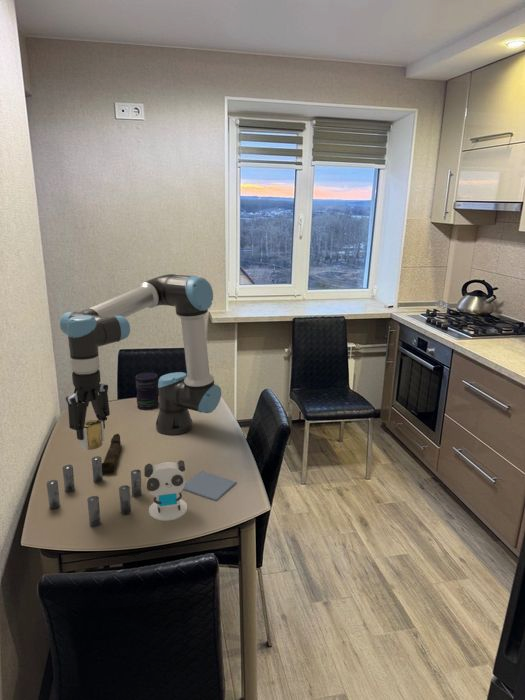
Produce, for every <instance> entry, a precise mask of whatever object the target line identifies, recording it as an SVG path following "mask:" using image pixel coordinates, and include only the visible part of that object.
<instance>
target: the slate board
mask: <svg viewBox="0 0 525 700" xmlns="http://www.w3.org/2000/svg"><path fill="white" fill-rule="evenodd" d="M236 484H237V481H235V480H233V479H230V478H226V477H223V476H220V475H216V474H213V473H211V472H207V471H204V470H200V471H199V472H198V473H196V474H195V475H194V476H193V477H191V478H190V479H189V480H187V481H185V485H184V488H183V489H182V491H185V492H189V493H191V494H195V495H196V496H197V495H198V496H200V497H203V498H206V499H209V500H212V501H215V502H217V501H218V500H219V499H221V497H223V496H224V495H225V494H226V493H227V492H228V491H229V490H230V489H232V488H233V487H234V486H235V485H236ZM233 485H234V486H233ZM232 486H233V487H232ZM223 494H224V495H223Z"/></svg>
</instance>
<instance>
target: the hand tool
mask: <svg viewBox="0 0 525 700" xmlns="http://www.w3.org/2000/svg"><path fill="white" fill-rule="evenodd" d="M109 445H110V446H109V448H108V450H107V452H106V454H105V457H104V460H103V462H102V473H103V475H111V474H113V473H115V469H116V464H117V461H118V457H119V455H120V452H121V448H122V445H121V436H120V434H119V433H116V434H114V435H113V436H112V438H111V439H110V444H109Z"/></svg>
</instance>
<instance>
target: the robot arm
mask: <svg viewBox="0 0 525 700" xmlns="http://www.w3.org/2000/svg"><path fill="white" fill-rule="evenodd" d="M212 301H214V292H213V288H212V285H211V283H210V282H209V281H208V280H207V279H206V278H205V277H200V276H196V275H183V274H175V273H174V274H170V273H169V274H164V275H163V274H162V275H160V276H157V277H154V278H152V279H149V280H146V281H143V282H141V283H140V284H139V285H138V287H137V288H134V289H132V290H129V291H127V292H125V293H122V294H119V295H117V296H115V297H113V298H110V299H108V300H106V301H104V302H101V303H98V304H96V305H94V306H91V307H89V308H87V309H84V310H82V311H78V312H77V311H68V312H65V313H63V315H62V316H61V318H60V319H59V326H60V330H61V332H63V334H65V335H66V336H67V338H68V348H69V356H70V366H71V367H70V369H71V372H72V373H71V377H72V378H71V379H72V385H73V387H74V391H73V394H72V395H70V396H69V395H68V396H66V397H65V401H66V403H67V407H68V410H67V411H68V423H69V425H68V426H69V429H71V430H73V431H76V439H77V440H78V443H79V449H82V450H84V451H89V450H88V439H87V429H86V428H84V425H85V421H86V416H87V411H88V410H87V409H88V407H89V406H90V405H89V404H90V403H91V405H92V408H93V411H94V414H95V417H96V419H95V420H98V421H100V422H101V434H102V443H103V442H105V440H106V439H105V428H106V424H105V421H107V420H108V417H109V416H110V414H111V413H110V404H109V394H108V390H109V385H108V384H104V383H101V371H100V369H101V368H100V358H99V347H102V346H106V345H109V344H110V345H111V344H113V343H114V344H115V343H118V342H120V341H123V340H126V339H127V338H128V337H129V336H130V334H131V325H130V322H129V321H128V319H127V317H129V316H131V315H133V314H135V313H138V312H140V311H142V310H145V309H146V308H148V309H152V308H156V307H158V306H170V307H174V308H175V315H176V316H177V317H179V318H180V321H181V332H182V339H183V340H182V341H183V348H184V357H185V358H184V359H185V368H186V372H183V371H180V372H179V371H176V372H169V373H166V374H163V375H161V376H160V377H159V378H158V387H157V390H158V398H159V401H158V404H159V406H158V408H159V409H158V414H157V418H156V422H155V430H156V431H157V432H158V433H159V434H162V435H168V436H170V435H171V436H176V435H182V434H185V433H188V432H190V431H192V429H193V425H194V423H193V419H192V417H191V413H190V411H195V412H198V413H199V414H200V413H204V414H210V413H212V412H214V410H216V408H217V407H218V406H219V403H220V402H221V399H222V398H221V397H222V389H221V386H219V385H218V384H215V378H214V375H212V374H211V373H210V366H209V356H208V355H209V354H208V343H207V334H206V331H207V330H206V322H205V320H206V319H205V316H206V315H207V314H208V313H209V310H208V309H210V308H211V307H212V304H213V302H212ZM189 410H190V411H189Z"/></svg>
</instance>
